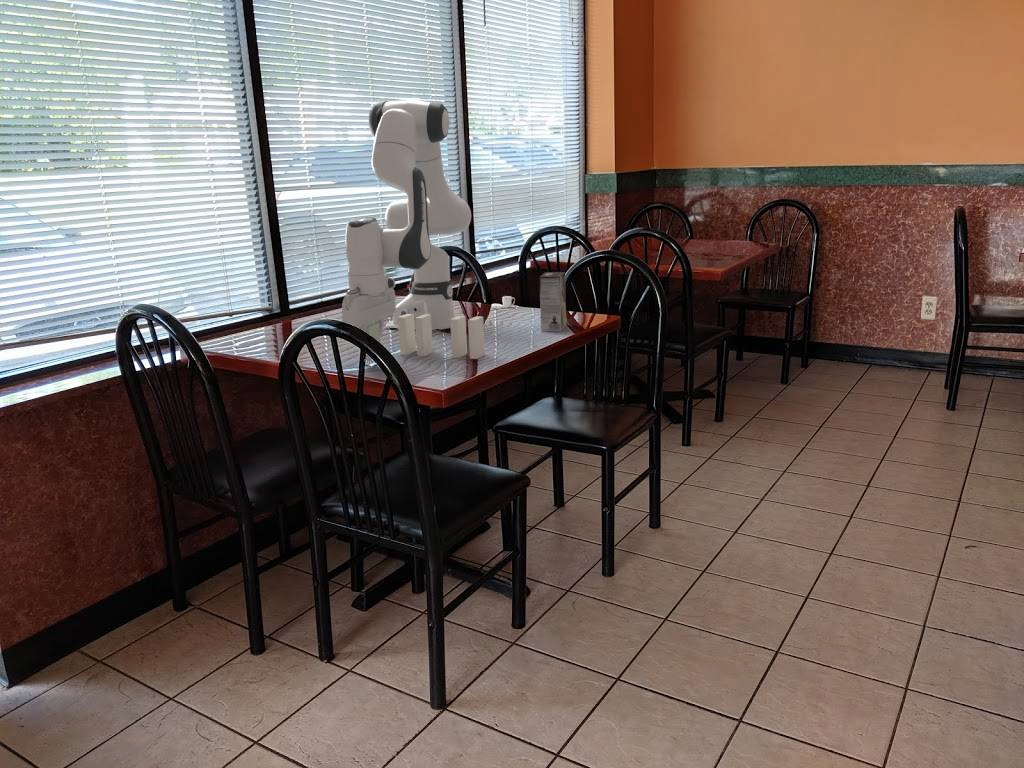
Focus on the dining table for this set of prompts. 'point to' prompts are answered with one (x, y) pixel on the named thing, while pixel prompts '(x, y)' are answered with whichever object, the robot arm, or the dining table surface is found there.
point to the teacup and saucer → (504, 303)
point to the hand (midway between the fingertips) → (371, 339)
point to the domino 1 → (373, 334)
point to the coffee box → (553, 301)
